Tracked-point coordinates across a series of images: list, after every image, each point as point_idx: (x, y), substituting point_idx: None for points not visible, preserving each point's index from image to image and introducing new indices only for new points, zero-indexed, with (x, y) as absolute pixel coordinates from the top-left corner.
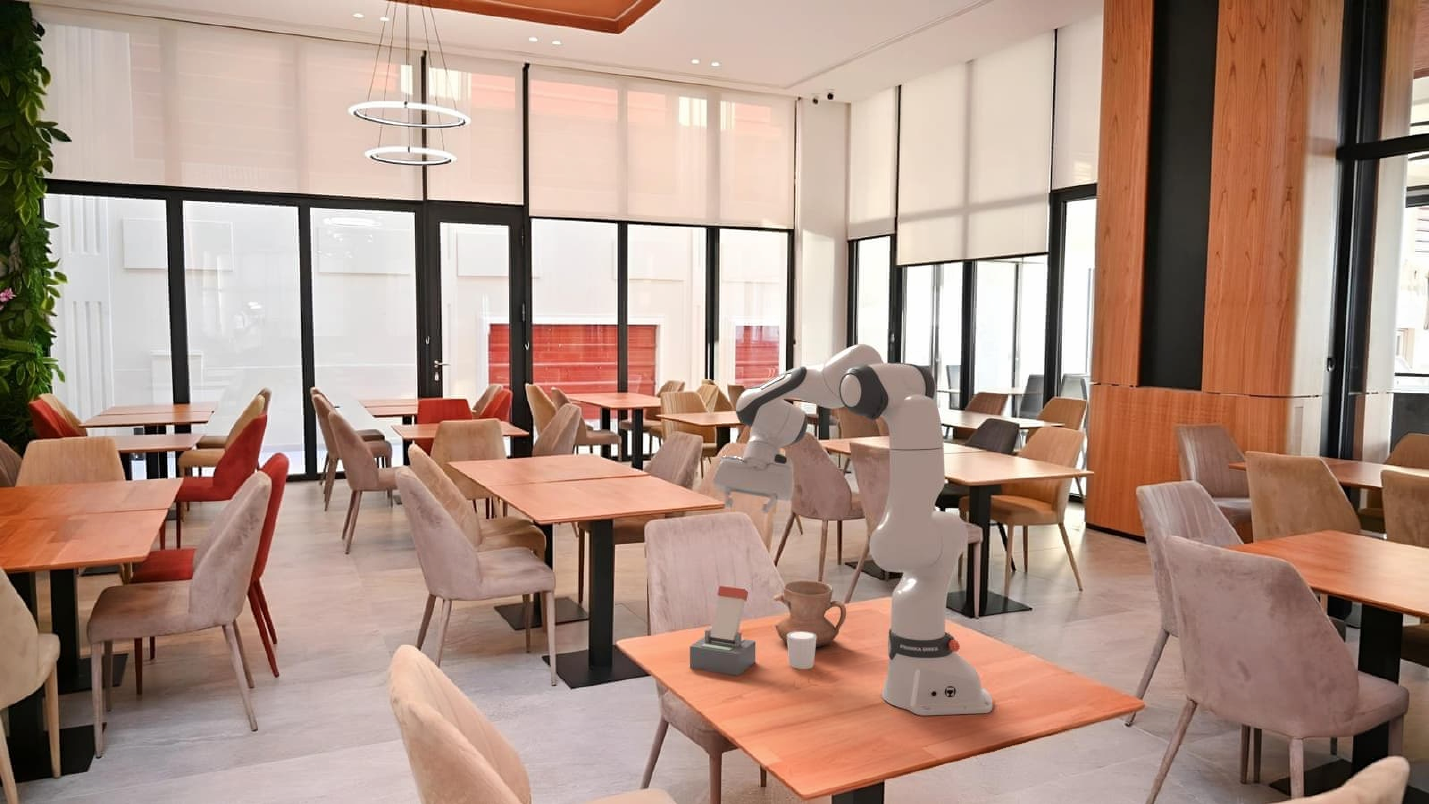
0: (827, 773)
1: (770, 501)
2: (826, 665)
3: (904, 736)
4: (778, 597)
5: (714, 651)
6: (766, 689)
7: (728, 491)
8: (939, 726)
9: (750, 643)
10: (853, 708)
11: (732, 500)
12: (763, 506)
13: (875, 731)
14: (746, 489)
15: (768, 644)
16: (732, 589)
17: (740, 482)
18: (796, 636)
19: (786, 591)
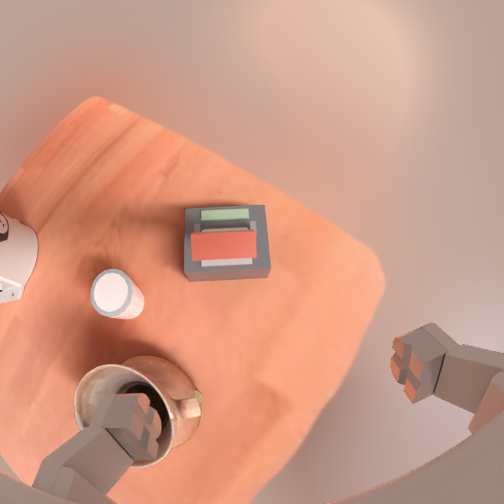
0: (80, 111)
1: (74, 444)
2: (99, 314)
3: (30, 179)
4: (185, 400)
5: (223, 207)
6: (144, 203)
7: (493, 378)
8: (9, 209)
9: (186, 257)
10: (59, 205)
11: (418, 386)
12: (129, 409)
13: (46, 174)
14: (356, 494)
15: (205, 366)
16: (220, 232)
17: (486, 491)
18: (116, 284)
19: (150, 379)
